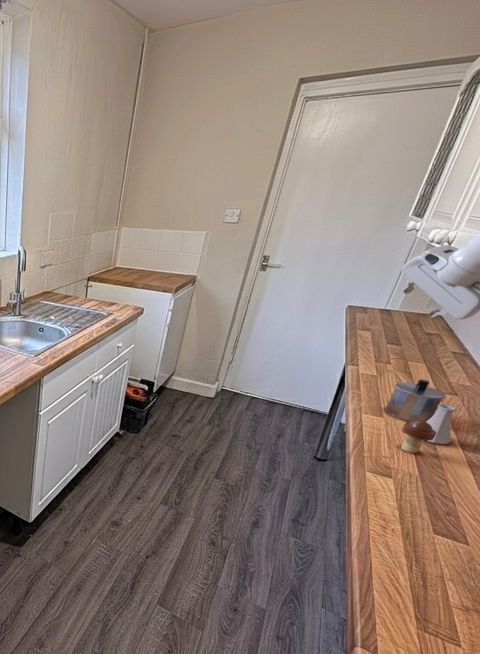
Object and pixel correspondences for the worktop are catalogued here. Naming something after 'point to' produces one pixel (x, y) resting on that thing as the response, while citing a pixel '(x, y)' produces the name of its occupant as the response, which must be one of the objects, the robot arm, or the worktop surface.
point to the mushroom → (416, 435)
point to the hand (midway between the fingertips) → (418, 303)
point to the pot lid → (420, 390)
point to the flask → (441, 424)
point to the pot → (411, 407)
